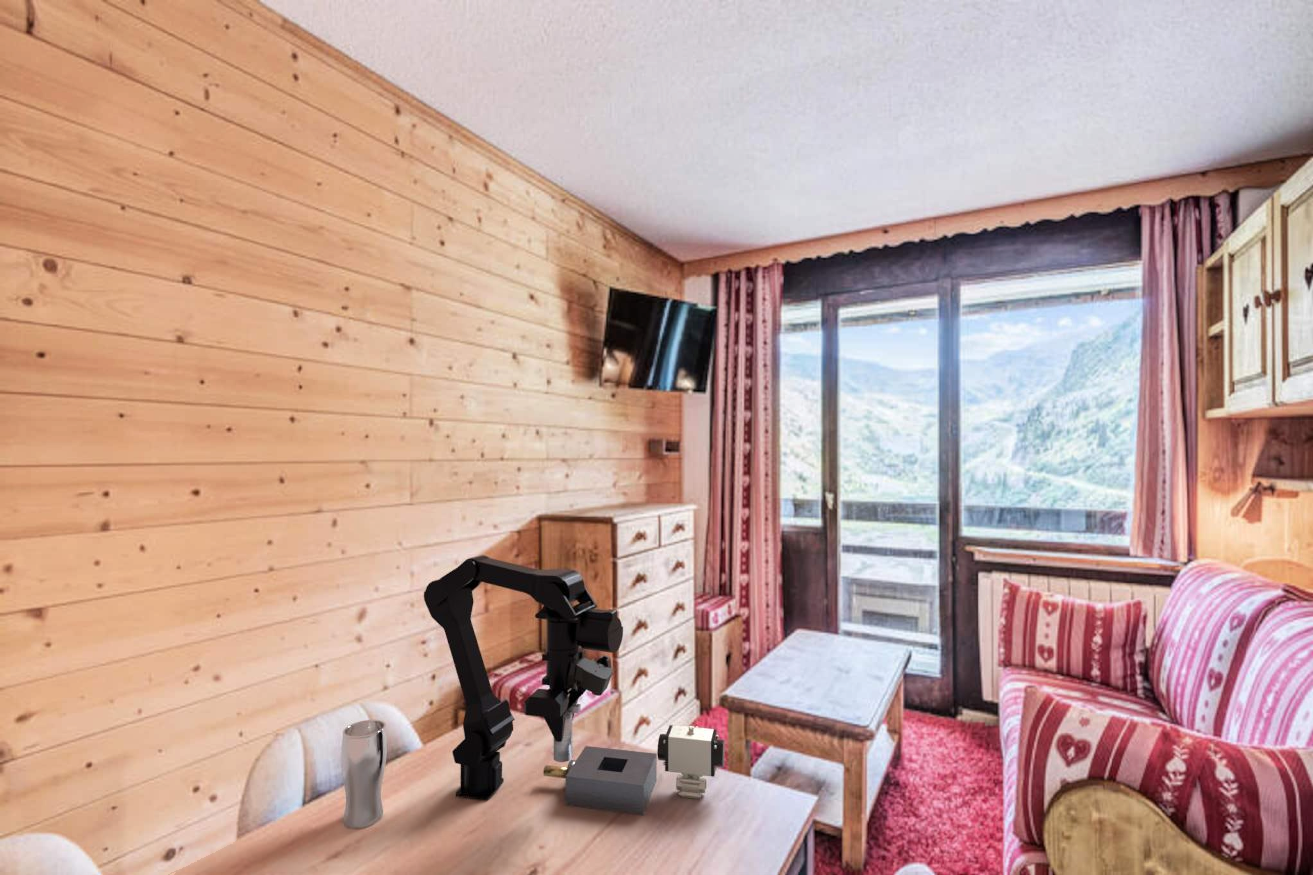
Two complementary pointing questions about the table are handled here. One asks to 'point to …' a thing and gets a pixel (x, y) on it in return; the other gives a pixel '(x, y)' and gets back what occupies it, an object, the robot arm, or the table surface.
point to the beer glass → (363, 772)
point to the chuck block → (609, 779)
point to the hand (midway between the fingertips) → (562, 736)
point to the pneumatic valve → (691, 756)
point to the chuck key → (566, 737)
